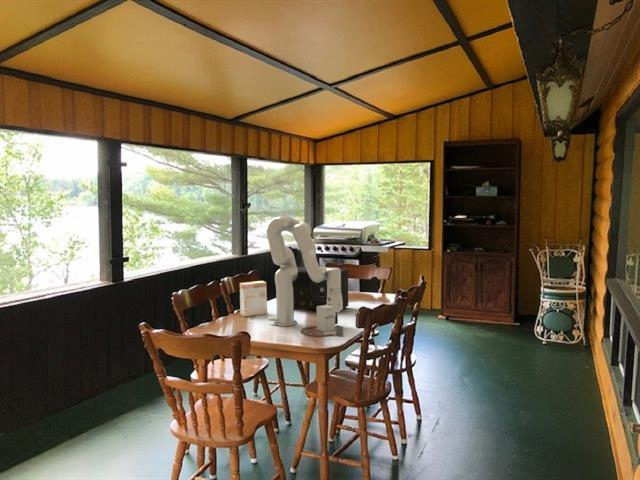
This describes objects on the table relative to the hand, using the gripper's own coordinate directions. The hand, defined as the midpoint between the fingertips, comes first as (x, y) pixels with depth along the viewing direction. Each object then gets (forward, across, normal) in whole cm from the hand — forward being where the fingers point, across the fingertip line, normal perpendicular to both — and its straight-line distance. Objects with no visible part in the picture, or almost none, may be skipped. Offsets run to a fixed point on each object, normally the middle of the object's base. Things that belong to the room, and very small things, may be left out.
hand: (334, 323), depth 295 cm
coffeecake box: (+2, +2, +59) cm, 59 cm away
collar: (+1, -13, -2) cm, 13 cm away
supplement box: (+2, -8, 0) cm, 9 cm away
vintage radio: (+2, +34, +34) cm, 48 cm away
